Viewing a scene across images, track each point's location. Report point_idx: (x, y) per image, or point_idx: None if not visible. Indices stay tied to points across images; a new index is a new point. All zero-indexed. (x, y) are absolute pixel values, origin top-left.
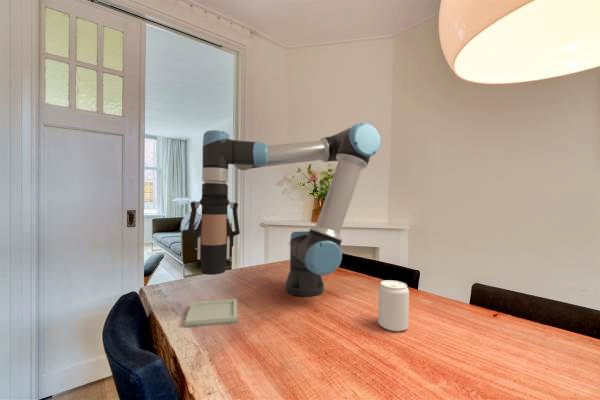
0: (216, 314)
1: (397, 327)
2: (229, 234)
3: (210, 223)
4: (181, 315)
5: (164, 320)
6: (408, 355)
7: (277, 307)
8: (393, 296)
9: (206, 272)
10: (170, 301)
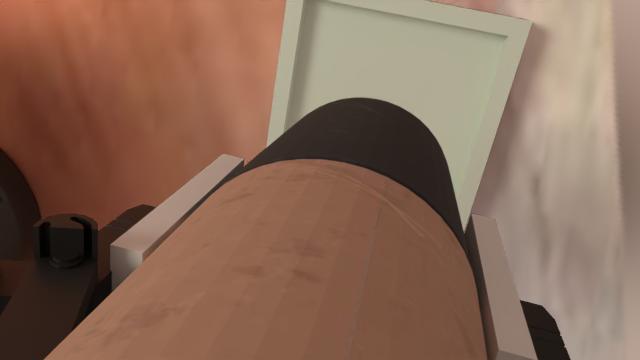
0: (372, 82)
1: None
2: (89, 270)
3: None
4: (519, 157)
5: (600, 134)
6: None
7: (103, 67)
8: None
9: (422, 123)
10: None
